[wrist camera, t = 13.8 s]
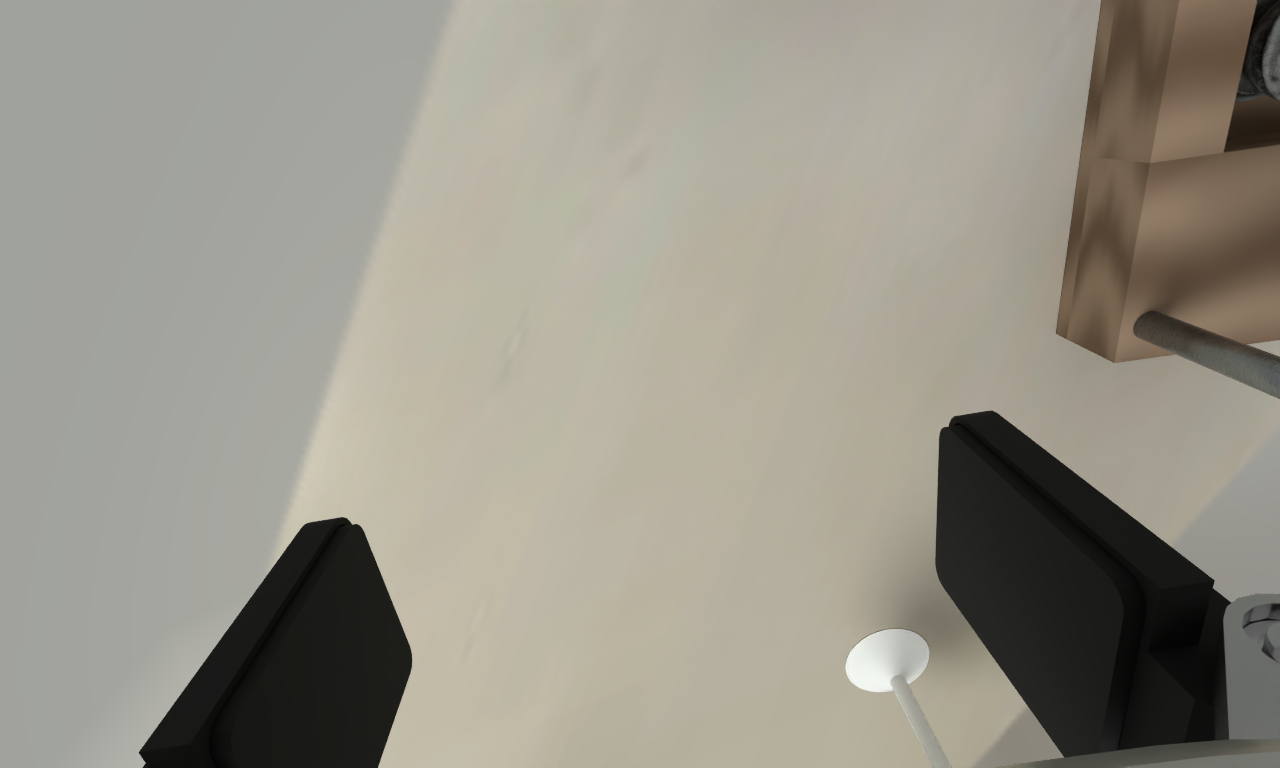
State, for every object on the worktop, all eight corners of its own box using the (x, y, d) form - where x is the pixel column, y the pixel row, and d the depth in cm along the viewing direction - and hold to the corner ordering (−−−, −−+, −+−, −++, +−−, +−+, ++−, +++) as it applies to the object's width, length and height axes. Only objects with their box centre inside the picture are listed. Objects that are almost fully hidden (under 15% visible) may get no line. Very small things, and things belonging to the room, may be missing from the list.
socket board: (1120, -139, 31) (1212, -183, 26) (1455, -188, 31) (1605, -240, 26) (1056, 333, 40) (1114, 363, 36) (1310, 297, 40) (1401, 322, 36)
